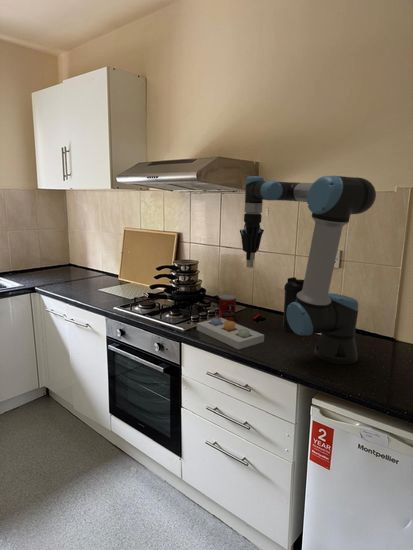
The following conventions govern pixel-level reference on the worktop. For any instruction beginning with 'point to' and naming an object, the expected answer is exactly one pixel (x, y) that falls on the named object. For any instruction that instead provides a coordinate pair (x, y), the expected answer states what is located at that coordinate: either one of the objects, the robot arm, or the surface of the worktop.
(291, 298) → the water bottle
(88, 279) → the worktop surface
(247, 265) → the robot arm
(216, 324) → the button slate
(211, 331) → the console
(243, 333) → the button sage
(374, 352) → the worktop surface
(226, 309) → the canned food
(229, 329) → the button orange
